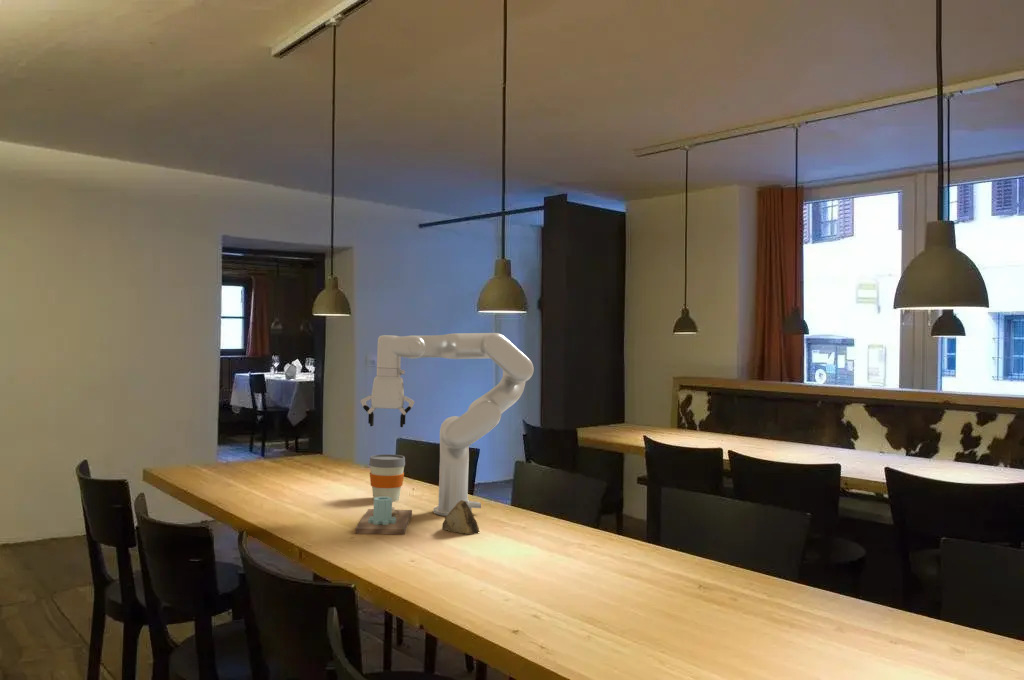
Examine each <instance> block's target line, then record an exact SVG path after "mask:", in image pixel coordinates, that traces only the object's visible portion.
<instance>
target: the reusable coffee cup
mask: <svg viewBox="0 0 1024 680" xmlns="http://www.w3.org/2000/svg"><path fill="white" fill-rule="evenodd" d="M368 463H369V464H368V465H369V467H370V472H369V481H370V486H371V490H372V499H373V501H374V498H375V497H391V498H392V503H393V502H398V501H399V500H400V496H401V488H402V487H403V484H404V477H405V472H404V469H405V466H406V457H405V456H404V455H400V454H388V453H387V454H374V455H370V457H369V462H368Z"/></svg>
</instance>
